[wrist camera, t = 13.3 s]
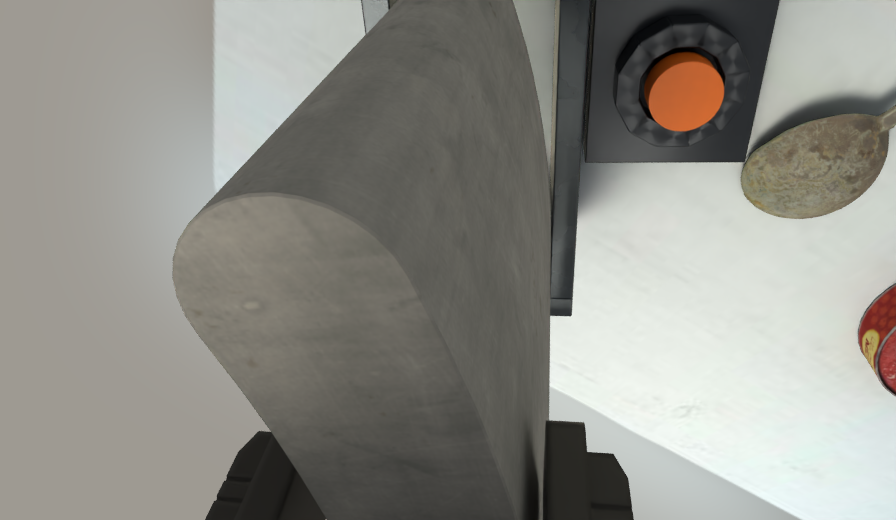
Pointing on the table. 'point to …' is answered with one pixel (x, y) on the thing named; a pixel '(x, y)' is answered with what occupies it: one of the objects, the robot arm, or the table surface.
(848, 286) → the table surface
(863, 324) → the canned food
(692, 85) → the button
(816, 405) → the table surface
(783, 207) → the soupspoon
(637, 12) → the control panel
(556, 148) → the black storage bin
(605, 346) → the table surface
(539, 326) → the hip flask
